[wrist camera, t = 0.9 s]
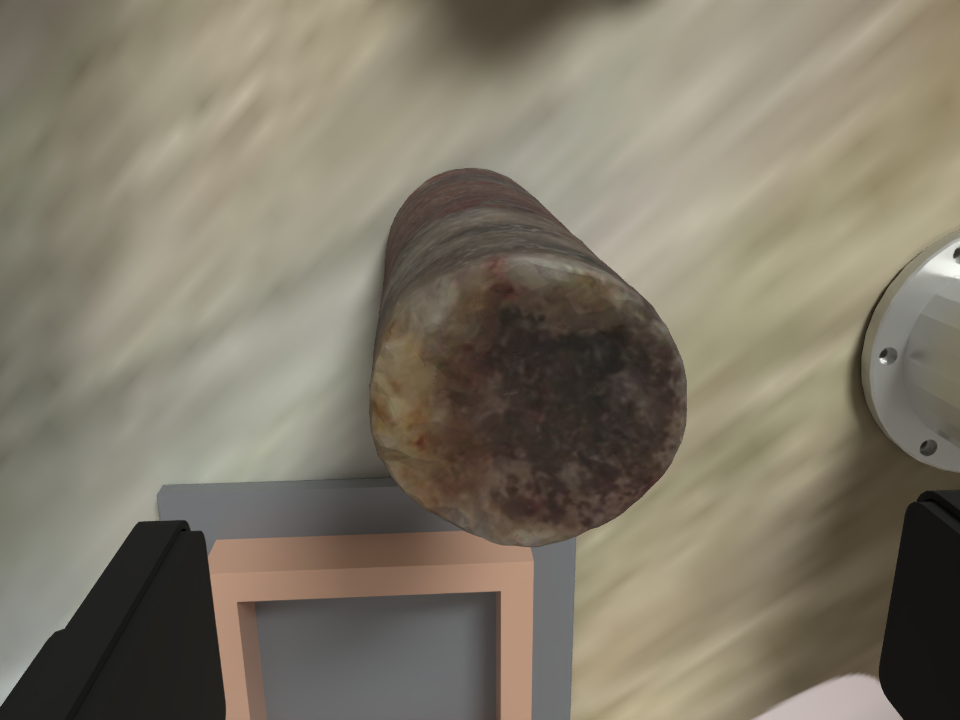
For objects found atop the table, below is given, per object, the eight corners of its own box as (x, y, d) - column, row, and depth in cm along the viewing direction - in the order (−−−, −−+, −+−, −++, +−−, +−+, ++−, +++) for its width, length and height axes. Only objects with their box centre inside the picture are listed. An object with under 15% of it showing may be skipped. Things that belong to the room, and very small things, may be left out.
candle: (580, 287, 37) (742, 476, 18) (441, 361, 38) (455, 619, 19) (504, 136, 35) (596, 169, 16) (357, 217, 36) (276, 344, 16)
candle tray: (574, 471, 40) (589, 510, 36) (564, 791, 46) (576, 852, 42) (163, 485, 39) (134, 526, 35) (208, 810, 45) (187, 876, 41)
